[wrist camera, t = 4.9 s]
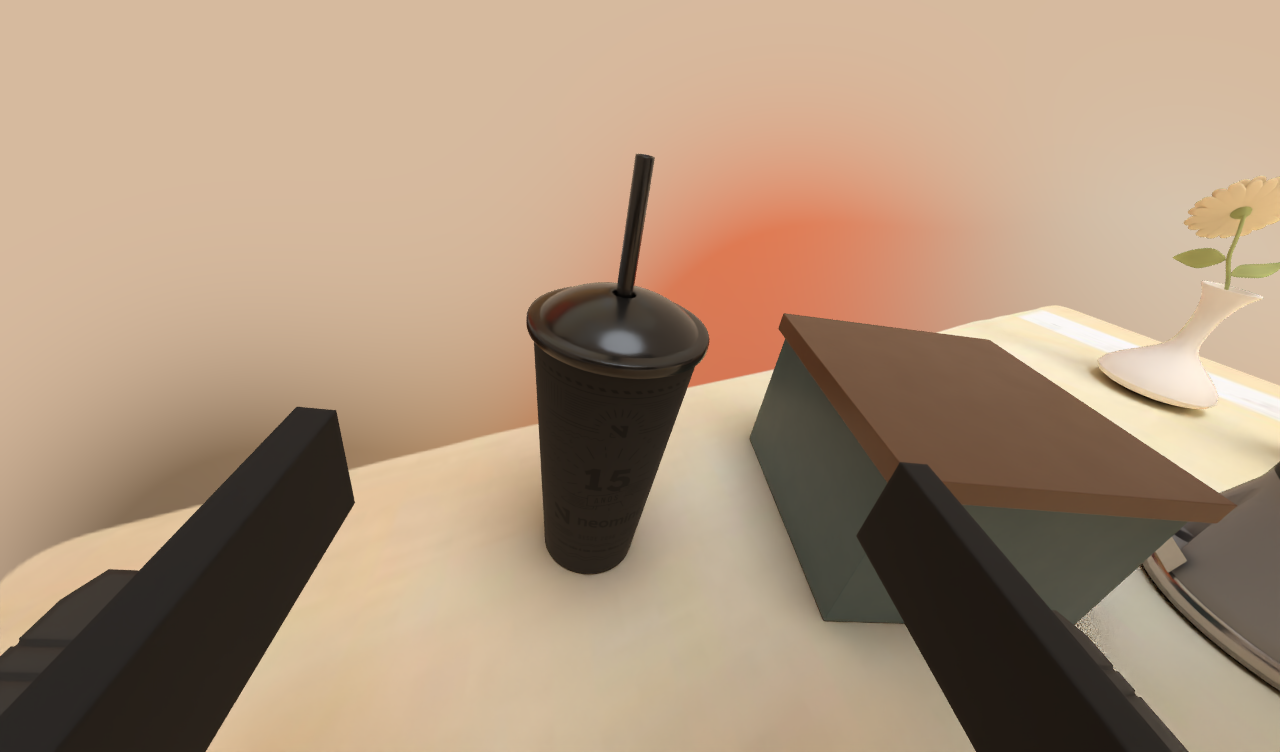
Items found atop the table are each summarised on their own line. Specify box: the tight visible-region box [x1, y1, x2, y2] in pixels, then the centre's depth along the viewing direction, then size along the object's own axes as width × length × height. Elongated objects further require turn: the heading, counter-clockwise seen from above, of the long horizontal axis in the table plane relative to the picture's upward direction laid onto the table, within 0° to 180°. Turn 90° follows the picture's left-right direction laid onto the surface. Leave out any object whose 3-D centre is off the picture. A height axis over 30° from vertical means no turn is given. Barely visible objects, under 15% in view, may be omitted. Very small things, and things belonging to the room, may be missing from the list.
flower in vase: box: [1098, 176, 1280, 409], centre depth 54 cm, size 13×11×25 cm
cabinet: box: [750, 314, 1237, 625], centre depth 30 cm, size 16×17×11 cm
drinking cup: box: [527, 154, 709, 574], centre depth 22 cm, size 8×8×20 cm
